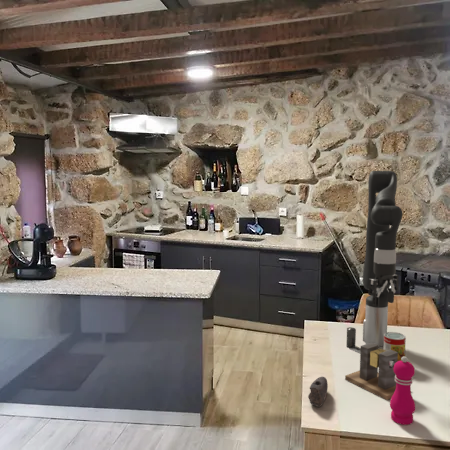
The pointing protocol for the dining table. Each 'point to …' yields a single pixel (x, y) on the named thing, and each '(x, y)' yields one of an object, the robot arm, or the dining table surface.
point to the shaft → (352, 339)
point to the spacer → (375, 357)
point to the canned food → (395, 343)
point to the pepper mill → (403, 393)
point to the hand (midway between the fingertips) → (383, 304)
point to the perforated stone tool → (318, 391)
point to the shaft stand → (375, 372)
